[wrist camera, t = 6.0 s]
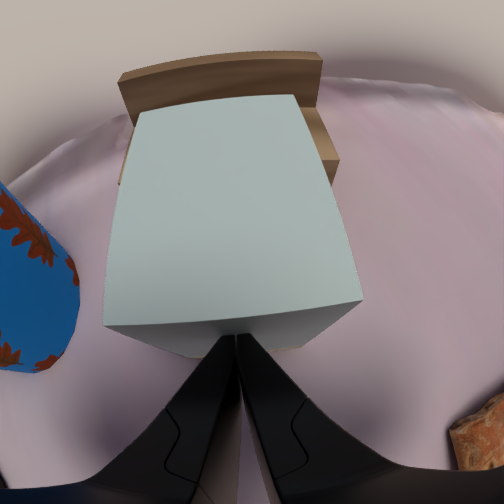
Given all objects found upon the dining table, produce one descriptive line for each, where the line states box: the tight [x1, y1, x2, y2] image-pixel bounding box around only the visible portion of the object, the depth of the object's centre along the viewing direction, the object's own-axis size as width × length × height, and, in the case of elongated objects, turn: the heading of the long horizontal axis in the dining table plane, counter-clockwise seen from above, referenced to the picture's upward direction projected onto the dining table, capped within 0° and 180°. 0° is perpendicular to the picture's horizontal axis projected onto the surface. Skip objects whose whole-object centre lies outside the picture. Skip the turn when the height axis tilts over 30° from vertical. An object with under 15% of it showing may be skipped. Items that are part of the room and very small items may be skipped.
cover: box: [102, 95, 364, 358], centre depth 13 cm, size 13×6×9 cm, turn 6°
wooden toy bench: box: [117, 51, 340, 186], centre depth 16 cm, size 7×13×8 cm, turn 96°
